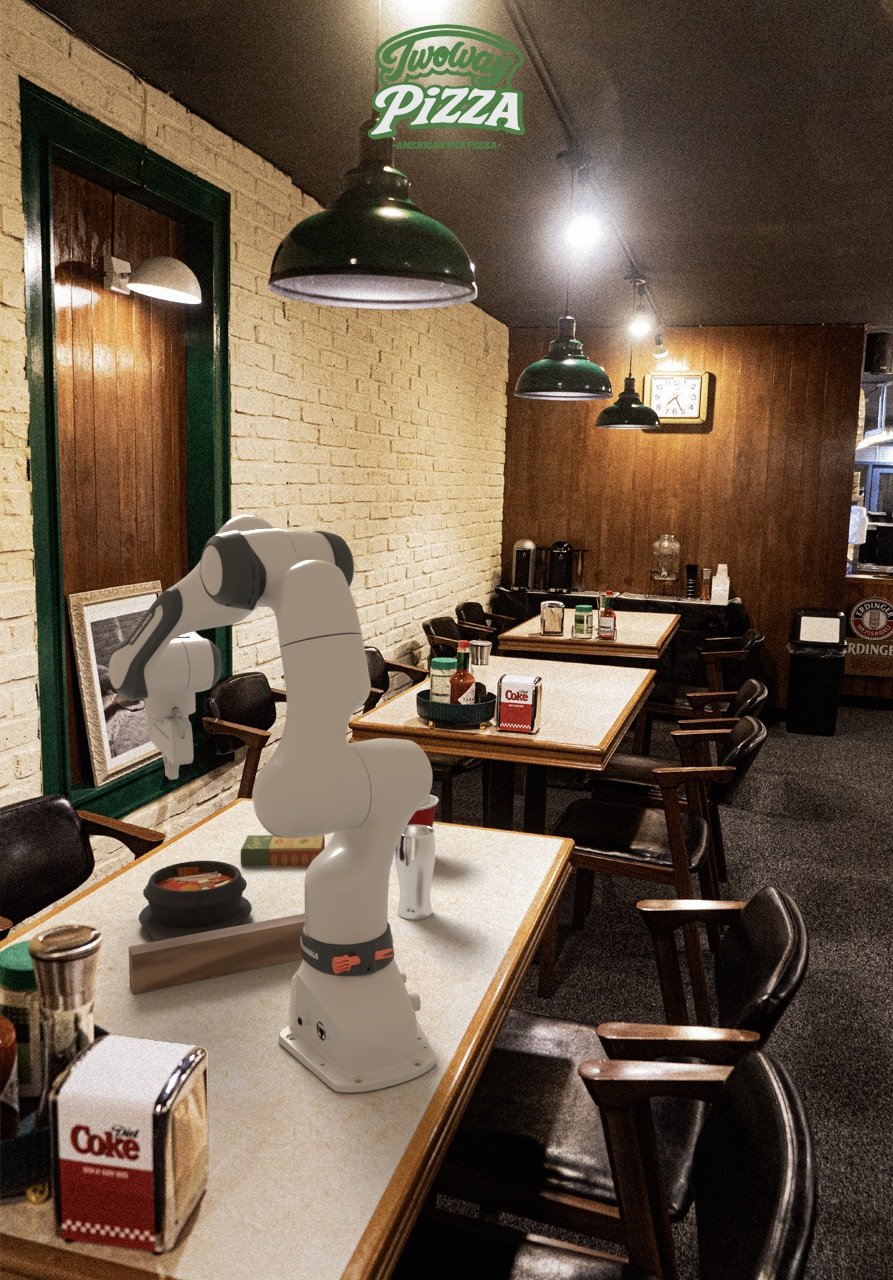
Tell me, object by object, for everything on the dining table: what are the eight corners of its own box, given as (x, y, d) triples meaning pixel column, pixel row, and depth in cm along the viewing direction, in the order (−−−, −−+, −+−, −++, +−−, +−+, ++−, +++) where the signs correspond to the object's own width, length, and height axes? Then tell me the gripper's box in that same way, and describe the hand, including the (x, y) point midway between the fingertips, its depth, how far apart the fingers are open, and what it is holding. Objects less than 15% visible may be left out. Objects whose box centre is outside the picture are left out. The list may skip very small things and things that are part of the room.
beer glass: (387, 911, 168) (387, 829, 166) (418, 902, 172) (418, 821, 170) (411, 924, 163) (412, 839, 161) (442, 914, 167) (443, 831, 165)
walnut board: (317, 955, 151) (317, 919, 150) (133, 994, 138) (132, 954, 137) (310, 947, 153) (310, 912, 153) (129, 985, 140) (128, 946, 140)
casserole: (149, 897, 173) (148, 852, 172) (254, 891, 176) (253, 847, 175) (127, 959, 149) (125, 907, 148) (249, 951, 152) (248, 901, 151)
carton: (321, 868, 190) (321, 847, 189) (239, 868, 189) (239, 847, 188) (324, 853, 198) (324, 833, 197) (246, 853, 197) (246, 833, 197)
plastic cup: (387, 846, 201) (387, 791, 200) (438, 847, 201) (439, 792, 200) (383, 865, 191) (383, 806, 189) (437, 866, 190) (438, 807, 189)
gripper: (201, 712, 165) (203, 789, 167) (175, 692, 183) (177, 763, 185) (164, 715, 163) (166, 794, 164) (141, 695, 180) (143, 766, 182)
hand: (171, 777), depth 175 cm, fingers closed
